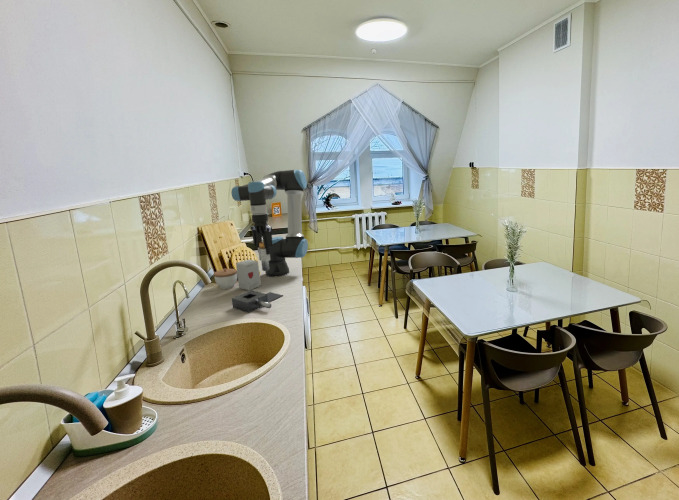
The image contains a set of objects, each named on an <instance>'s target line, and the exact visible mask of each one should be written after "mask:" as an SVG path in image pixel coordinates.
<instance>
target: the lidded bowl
mask: <svg viewBox="0 0 679 500" xmlns="http://www.w3.org/2000/svg"><path fill="white" fill-rule="evenodd" d="M213 277H214V281H215V283H216V285H217V286H218V287H219V288H220V289H222V290H227V289H231V288H234V287H235V285H236V284H237V282H238V275H237V268H226V267H225V268H223V269H220V270H217V271H214V272H213Z"/></svg>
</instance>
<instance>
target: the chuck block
mask: <svg viewBox="0 0 679 500" xmlns="http://www.w3.org/2000/svg"><path fill="white" fill-rule="evenodd" d="M231 304H232V309H236V310H238V311H242V312H245V313H252V312H253V311H256V310H258V309H260V308H266V309H271V308H272V303H271V302H269V303H268V296H267V293H264V292H261V291H256V290H253V289H251V290H247V291H246V292H243V293H240V294H239V295H236V296H233V297H231Z"/></svg>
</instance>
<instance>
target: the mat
mask: <svg viewBox="0 0 679 500" xmlns="http://www.w3.org/2000/svg"><path fill="white" fill-rule="evenodd" d="M266 294H267V296H268V303H271V302H273V301H275V300H277V299H279V298H282V297H284V295H283V294H280V293H275V292H271V291H269V292H267V293H266Z"/></svg>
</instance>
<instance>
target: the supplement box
mask: <svg viewBox="0 0 679 500" xmlns="http://www.w3.org/2000/svg"><path fill="white" fill-rule="evenodd" d="M235 267H236V270H237V283H238V288H239V289H242V290H246V291H251V290H253V289H255V288H258V287H261V286H262V283H261V276H260V269H259V268H260V267H259V260H253V259H245V260H242V261H239V262H236V263H235Z"/></svg>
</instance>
